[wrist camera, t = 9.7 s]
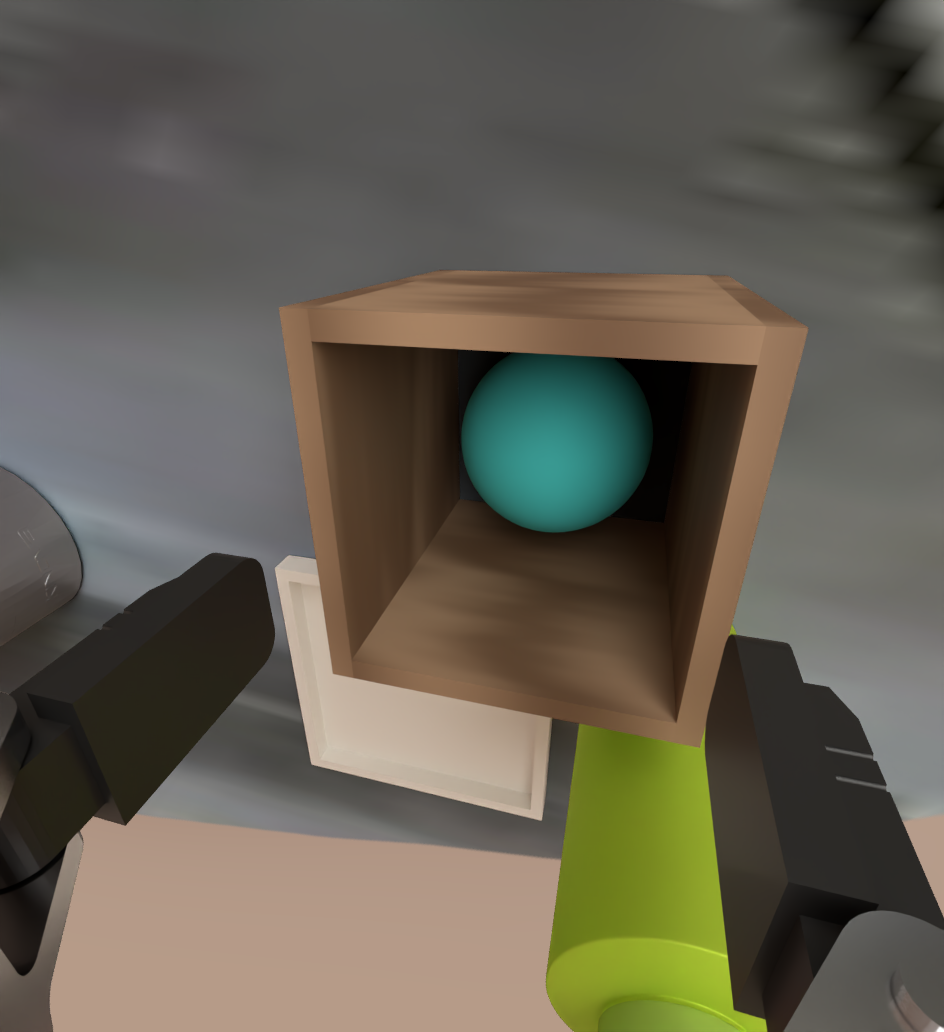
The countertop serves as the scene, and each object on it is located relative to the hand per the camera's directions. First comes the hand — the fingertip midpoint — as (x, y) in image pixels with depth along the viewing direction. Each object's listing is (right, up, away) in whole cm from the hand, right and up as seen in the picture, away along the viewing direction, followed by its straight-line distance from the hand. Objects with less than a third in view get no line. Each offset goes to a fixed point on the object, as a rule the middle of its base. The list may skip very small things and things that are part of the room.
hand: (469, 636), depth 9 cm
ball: (+3, +4, +9) cm, 10 cm away
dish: (-2, -6, +19) cm, 20 cm away
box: (+3, +6, +11) cm, 13 cm away
